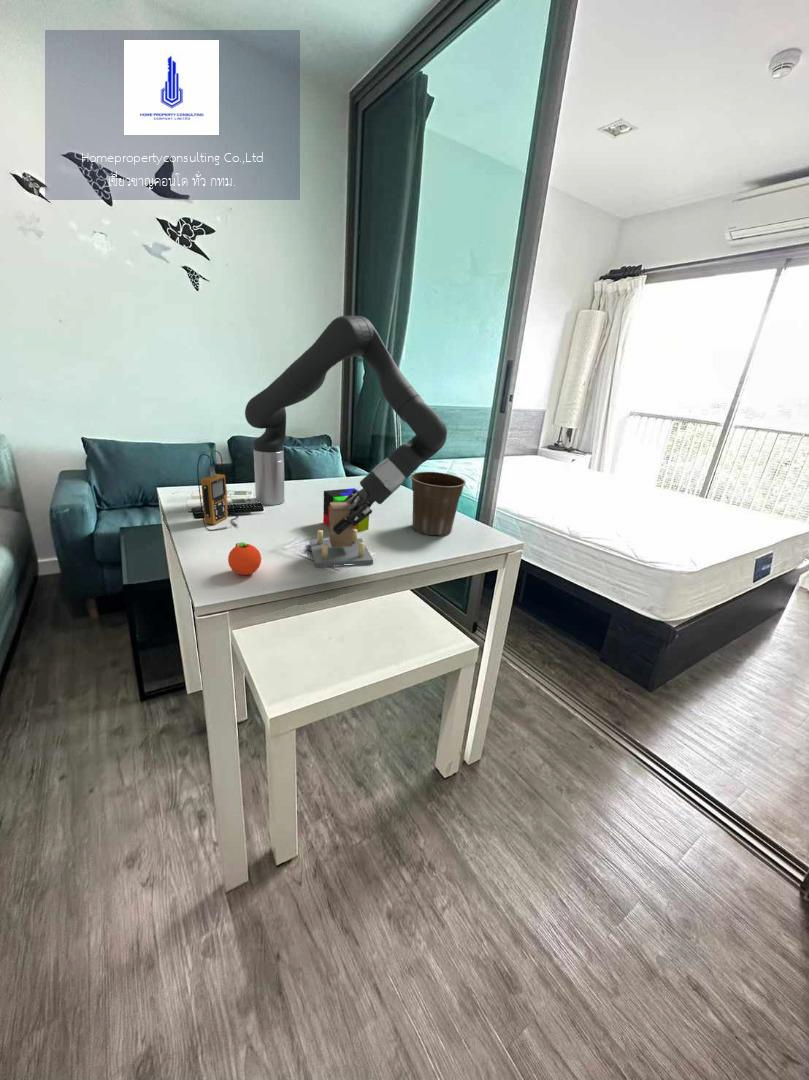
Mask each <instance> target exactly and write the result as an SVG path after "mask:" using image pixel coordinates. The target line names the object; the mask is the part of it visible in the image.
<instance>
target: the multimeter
mask: <svg viewBox="0 0 809 1080" xmlns="http://www.w3.org/2000/svg"><path fill="white" fill-rule="evenodd" d="M210 452H211V453H210V455H211V456H209V455H208V454H205V453H202V454H200V455H199V456H198V458H197V459H198V460H197V466H196V467H197V470H196V473H197V483H198V484H197V485H198V493H199V502H200V509H201V517H202V522H203V525H204V528H205V529H206V530H208V531H219V530H220V531H221V530H225V529H228V528H231V527H232V528H233V527H234V526H233V525H235V526H236V527H238V528H240V526H239V525H238V523H236V522H235V521H234V520H236V519H237V518H239V515H238V514H235V513H233V515H234V516H236V517H234V518H231V520H230V521H231V522H232V523H233V525H229V526H222V527H217V528H215V529H209V528H207V527H206V524H207V525H212V526H213V525H214V526H216V525H217V524H218V523H220V522H222V521H223V520H226V519H227V518H228V516H229V515H228V513H229V512H228V510H229V508H228V496H227V495H228V492H227V491H228V490H227V484H226V475H225V474H224V470H223V469H224V468H223V467H224V466H223V465H221V473H222V474H219V473H216V471H215V463H214V456H213V452H214V450H212V451H210ZM216 452H217V453H218V454H219V457H220V460H221V461H220V462H221V464H223V458H222V454H221V453H220V451H218V450H215V453H216ZM202 456H207V457H208V459H209V464H210V475H208V476H207V477H202V478H201V479H200V478H199V477H200V475H199V463H200V460H201V457H202ZM200 484H201V487H200ZM201 496H202V497H201ZM227 509H228V510H227Z"/></svg>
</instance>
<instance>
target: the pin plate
mask: <svg viewBox="0 0 809 1080" xmlns="http://www.w3.org/2000/svg"><path fill="white" fill-rule="evenodd" d="M308 541H309V542H308V543H310V545H309V547H310V546H311V549H310V551H311V550H312V552H311V555H312V554H313V556H312V559H314V560H313V563H314V567H315V568H329V567H328V566H333V567H337V566H336V565H344V564H358V565H357V566H363V565H364V566H365V565H367V566H368V565H374V559H373V556H372V555H371V553H370V552H369V550H368V548H367V546H366V544H365V542H364V540H363V539H362V538H358V531H357V529H353V537H352V546H351V547H332V546H331V543H330V540H329V539H324V530H322V529H317V539H311V540H308ZM334 565H335V566H334Z"/></svg>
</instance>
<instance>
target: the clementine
mask: <svg viewBox="0 0 809 1080" xmlns="http://www.w3.org/2000/svg"><path fill="white" fill-rule="evenodd" d="M227 560H228V566H229V568H230V569H231V571H233V572H234V573H235V574H238V575H242V576H247V575H252V574H254V573H255V572H256V571H257V570H258V569H259V568H260V566H261V563H262V555H261V552H260V550H259V549H258V548H256V546H254V545H253V544H250V543H246V542H237V543H236V544H235V546H234V547H233V548H232V549H231V550H230V551H229V554H228V557H227Z"/></svg>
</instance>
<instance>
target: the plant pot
mask: <svg viewBox="0 0 809 1080" xmlns="http://www.w3.org/2000/svg"><path fill="white" fill-rule="evenodd" d="M410 479H411V490H412V523H411V524H412V525H411V526H412V528H413V530H414V531H415V532H417V533H418V534H421V533H423V534H426V535H427V536H430V535H444V536H446V535H445V534H448V535H450V533H452V531H453V526H454V521H455V517H456V513H457V509H458V507H459V501H460V497H461V496H462V492H463V489H464V486H465V485H466V483H467V482H466V480H465V479H464V478H462V477H459V476H457V475H454V474H450V473H445V472H436V471H419V472H413V473H412V474H411V475H410Z"/></svg>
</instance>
